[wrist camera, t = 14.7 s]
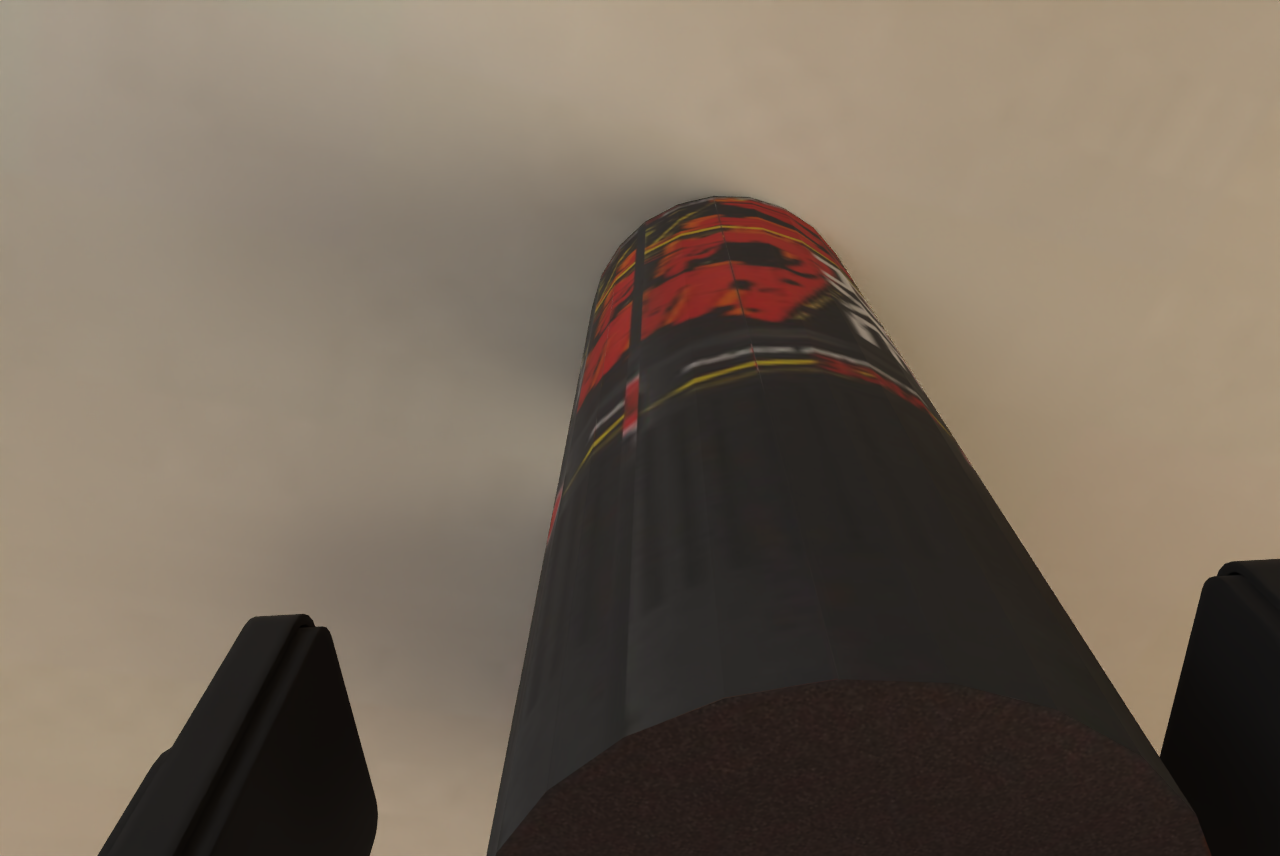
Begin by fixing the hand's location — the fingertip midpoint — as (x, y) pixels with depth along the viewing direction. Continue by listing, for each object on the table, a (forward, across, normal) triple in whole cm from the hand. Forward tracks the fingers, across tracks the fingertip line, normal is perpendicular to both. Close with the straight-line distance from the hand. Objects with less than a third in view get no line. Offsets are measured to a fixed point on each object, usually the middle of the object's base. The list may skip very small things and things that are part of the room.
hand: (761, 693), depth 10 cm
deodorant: (+12, -1, 0) cm, 12 cm away
